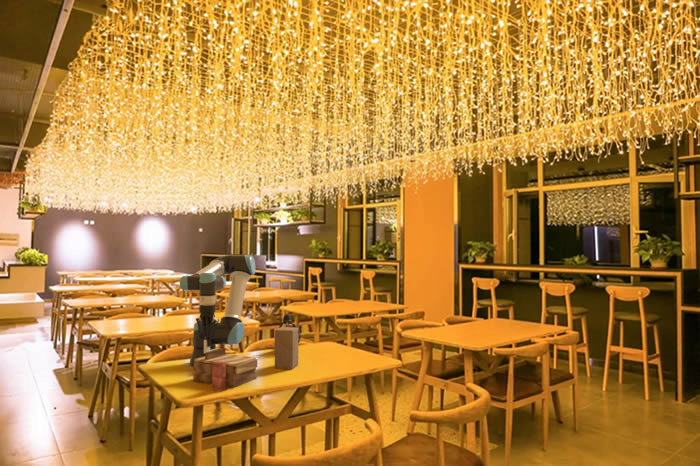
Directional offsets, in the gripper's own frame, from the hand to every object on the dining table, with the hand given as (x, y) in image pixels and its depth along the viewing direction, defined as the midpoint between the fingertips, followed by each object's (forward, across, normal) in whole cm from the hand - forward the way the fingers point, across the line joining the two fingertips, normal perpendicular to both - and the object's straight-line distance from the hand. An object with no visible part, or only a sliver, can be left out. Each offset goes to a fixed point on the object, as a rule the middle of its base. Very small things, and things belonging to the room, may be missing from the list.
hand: (206, 353), depth 220 cm
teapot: (+12, -1, +67) cm, 68 cm away
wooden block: (+12, +23, +34) cm, 43 cm away
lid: (+6, +12, 0) cm, 13 cm away
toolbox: (+12, +11, 0) cm, 16 cm away
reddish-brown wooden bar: (+12, +19, -13) cm, 26 cm away
